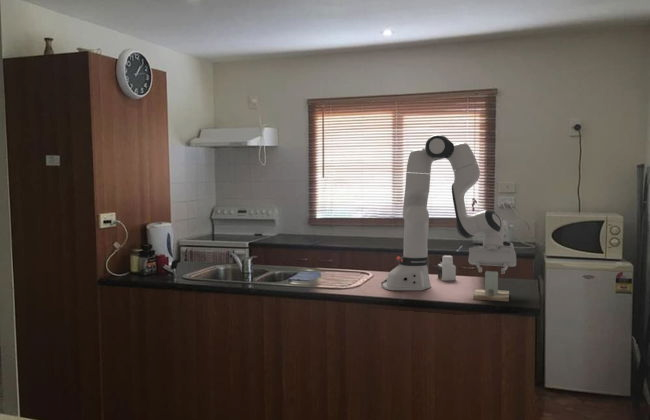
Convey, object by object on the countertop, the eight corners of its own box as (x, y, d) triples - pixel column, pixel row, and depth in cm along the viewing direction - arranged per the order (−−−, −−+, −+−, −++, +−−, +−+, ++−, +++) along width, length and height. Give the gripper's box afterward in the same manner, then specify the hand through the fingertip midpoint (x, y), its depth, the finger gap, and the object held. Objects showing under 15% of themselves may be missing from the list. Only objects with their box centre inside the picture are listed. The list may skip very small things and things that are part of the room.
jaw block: (485, 291, 241) (485, 271, 241) (497, 292, 240) (497, 271, 239) (485, 294, 237) (485, 273, 236) (497, 294, 235) (497, 273, 234)
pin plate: (475, 292, 247) (475, 283, 247) (509, 294, 243) (509, 285, 242) (473, 299, 234) (473, 289, 234) (508, 301, 229) (508, 291, 229)
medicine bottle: (437, 278, 282) (437, 254, 281) (451, 277, 282) (451, 254, 281) (441, 280, 274) (441, 256, 274) (455, 280, 275) (456, 256, 274)
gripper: (468, 241, 252) (466, 266, 243) (516, 243, 245) (516, 269, 236) (469, 250, 256) (467, 275, 248) (516, 252, 249) (515, 277, 241)
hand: (491, 272), depth 242 cm, fingers open, 8 cm apart
